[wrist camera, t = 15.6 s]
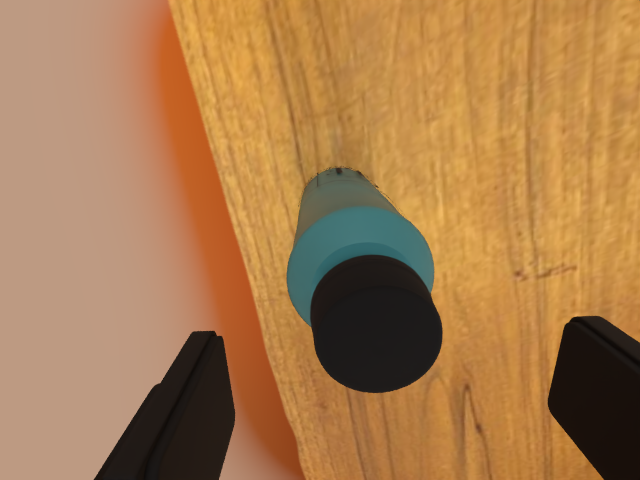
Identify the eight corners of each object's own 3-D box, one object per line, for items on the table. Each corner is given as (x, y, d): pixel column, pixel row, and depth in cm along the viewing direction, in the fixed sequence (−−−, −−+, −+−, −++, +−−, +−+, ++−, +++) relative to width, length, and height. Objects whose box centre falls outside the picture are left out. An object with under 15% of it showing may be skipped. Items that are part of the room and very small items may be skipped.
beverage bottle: (307, 243, 30) (292, 449, 11) (292, 168, 28) (241, 265, 9) (380, 230, 29) (494, 421, 11) (370, 154, 27) (493, 223, 8)
